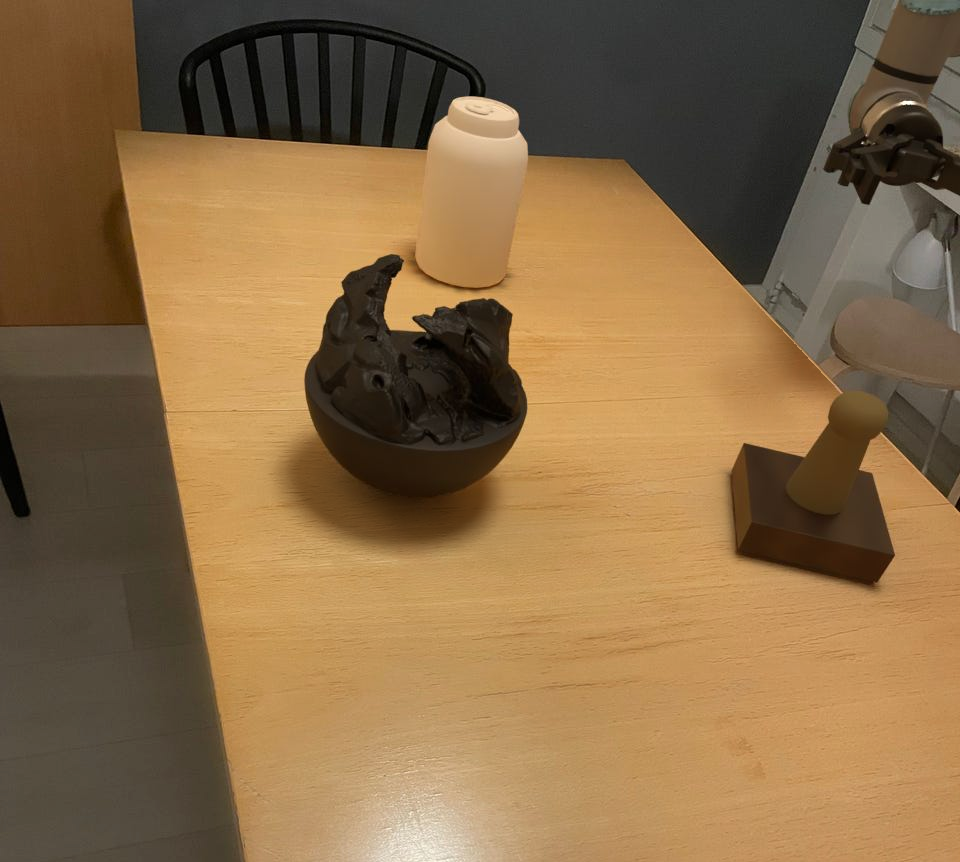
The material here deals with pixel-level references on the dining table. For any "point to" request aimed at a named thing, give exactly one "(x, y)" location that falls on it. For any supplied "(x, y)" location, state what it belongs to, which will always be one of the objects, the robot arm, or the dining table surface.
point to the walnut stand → (807, 521)
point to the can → (471, 193)
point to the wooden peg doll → (838, 453)
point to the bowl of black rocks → (414, 389)
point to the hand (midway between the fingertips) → (940, 205)
